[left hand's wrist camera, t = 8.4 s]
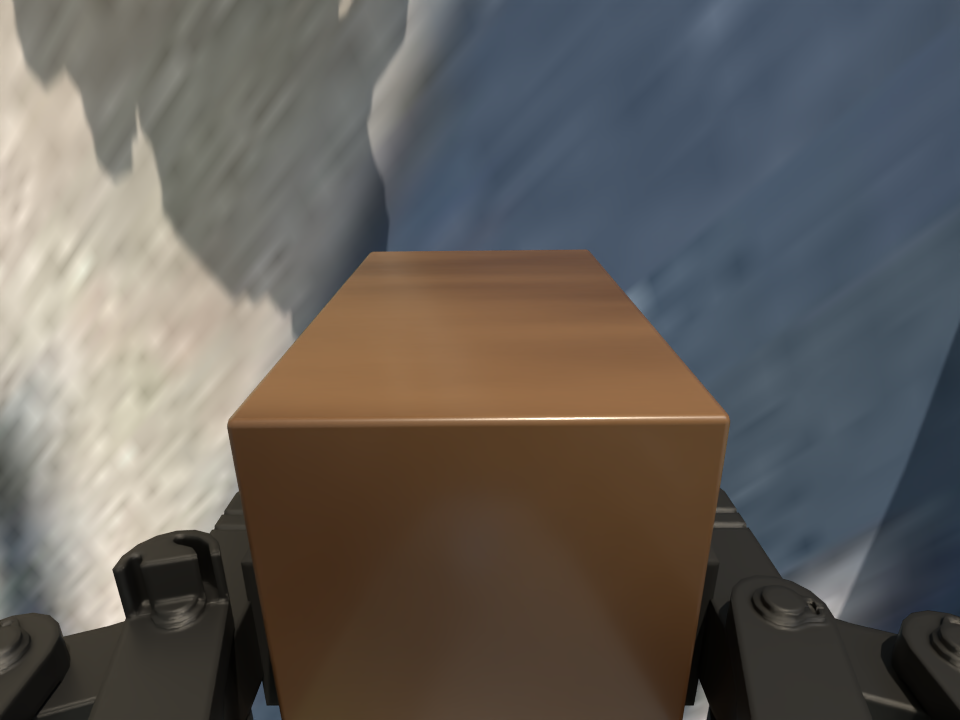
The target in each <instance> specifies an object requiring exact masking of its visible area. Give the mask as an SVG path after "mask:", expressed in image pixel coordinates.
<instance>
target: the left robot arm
mask: <svg viewBox="0 0 960 720" xmlns="http://www.w3.org/2000/svg"><path fill="white" fill-rule="evenodd" d="M112 570H113V573H114V577H115V581H116V584H117V588H118V591H119V595H120V598H121V602H122V605H123V609H124V613H125V616H126V619H125V621H124V622H120V623H117V624H114V625H111V626H107V627H103V628H98V629H94V630H90V631H86V632H81V633H77V634H73V635H69V636H64V637H63V634H62V631H61V628H60V625H59V623H58V622H57V621H56V620H54V619H53V618H52V617H51V616H50V615H44V614H38V613H29V614H22V615H15V616H11V617H8V618H5V619H2V620H0V720H253V715H252V710H251V707H252V704H253V702H254V699H255V697H256V694H257V692H258V689H259V687H260V684H261V681H262V682H263V688H264V693H265V699H266V704H267V705H279V702H278V697H277V692H276V686H275V681H274V675H273V670H272V665H271V659H270V654H269V649H268V643H267V638H266V633H265V627H264V622H263V616H262V611H261V606H260V600H259V595H258V590H257V584H256V579H255V573H254V568H253V563H252V557H251V552H250V547H249V541H248V536H247V531H246V525H245V520H244V514H243V509H242V504H241V498H240V493H239V492H237V493H236V494H235V496H234V497H233V499H232V500H231V502H230V503H229V505H228V506H227V508H226V510H225V511H224V515H222V516H221V517H220V519H219V520H218V522H217V523H216V525H215V529H214V530H212V531H211V532H210V534H209V533H205V532H201V531H197V530H183V531H174V532H170V533H166V534H162V535H158V536H155V537H153V538H151V539H149V540H147V541H145V542H142V543H140V544H138V545H137V546H135V547H134V548H133V549H131V550H130V551H129V552H127V553H126V554H125V555H123V556H122V557H121V559H120V560H119V561H118V563H117V564H116V565H115V567H114V568H113V569H112ZM698 679H699V680H700V682H701V685H702V687H703V690H704V693H705V695H706V698H707V700H708V703H709V710H708V715H707V720H960V617H958V616H955V615H952V614H949V613H942V612H935V611H921V612H915V613H911V614H910V615H909V616H908V617H907V618H905V619H904V620H903V621H902V624H901V627H900V630H899V633H898V634H894V633H890V632H885V631H881V630H877V629H873V628H868V627H864V626H860V625H855V624H851V623H848V622H845V621H842V620H838V619H835V618H834V616H833V615H832V613H831V612H830V610H829V609H828V607H827V605H826V604H825V603H824V602H823V601H822V600H821V599H819V598H818V597H817V596H816V595H815V594H813V593H812V592H811V591H810V590H808V589H806V588H804V587H802V586H800V585H798V584H796V583H794V582H792V581H789V580H786V579H782V577H781V576H780V574H779V573H778V571H777V570H776V568H775V567H774V565H773V564H772V562H771V560H770V559H769V557H768V556H767V554H766V553H765V551H764V550H763V548H762V547H761V545H760V544H759V542H758V541H757V539H756V538H755V536H754V535H753V533H752V532H751V530H750V529H749V528H747V527H746V523H745V521H744V520H743V518H742V517H741V515H740V514H739V513H737V511H736V508H735V506H734V505H733V503H732V502H731V500H730V499H729V497H728V496H727V494H726V493H725V491H723V490H722V489H721V488H720V489H719V495H718V501H717V507H716V514H715V520H714V526H713V532H712V539H711V545H710V551H709V557H708V563H707V570H706V576H705V582H704V588H703V595H702V601H701V607H700V613H699V619H698V626H697V632H696V638H695V644H694V651H693V657H692V663H691V669H690V675H689V682H688V688H687V694H686V700H685V705H694V701H695V696H696V690H697V685H698Z"/></svg>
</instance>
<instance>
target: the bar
mask: <svg viewBox="0 0 960 720" xmlns="http://www.w3.org/2000/svg"><path fill="white" fill-rule="evenodd" d="M729 427H730V418H729V415H728V414H727V413H726V412H725V410H724V409H723V408H722V407H721V406H720V405H719V403H718V402H717V401H716V400H715V399H714V397H713V396H712V395H711V394H710V393H709V392H708V390H707V389H706V388H705V387H704V386H703V385H702V383H701V382H700V381H699V380H698V379H697V377H696V376H695V375H694V374H693V373H692V372H691V370H690V369H689V368H688V367H687V366H686V364H685V363H684V362H683V361H682V360H681V359H680V357H679V356H678V355H677V354H676V353H675V352H674V350H673V349H672V348H671V347H670V346H669V344H668V343H667V342H666V341H665V340H664V339H663V337H662V336H661V335H660V334H659V333H658V332H657V330H656V329H655V328H654V327H653V326H652V324H651V323H650V322H649V321H648V320H647V319H646V317H645V316H644V315H643V314H642V313H641V311H640V310H639V309H638V308H637V307H636V306H635V304H634V303H633V302H632V301H631V300H630V299H629V297H628V296H627V295H626V294H625V293H624V291H623V290H622V289H621V288H620V287H619V286H618V284H617V283H616V282H615V281H614V280H613V279H612V277H611V276H610V275H609V274H608V273H607V271H606V270H605V269H604V268H603V267H602V266H601V264H600V263H599V262H598V261H597V260H596V258H595V257H594V256H593V255H592V254H591V253H590V251H588V250H511V251H413V252H371V253H370V254H369V255H368V256H367V257H366V259H365V260H364V261H363V262H362V263H361V264H360V266H359V267H358V268H357V269H356V270H355V272H354V273H353V274H352V275H351V276H350V277H349V279H348V280H347V281H346V282H345V283H344V284H343V286H342V287H341V288H340V289H339V290H338V292H337V293H336V294H335V295H334V296H333V297H332V299H331V300H330V301H329V302H328V303H327V304H326V306H325V307H324V308H323V309H322V310H321V312H320V313H319V314H318V315H317V316H316V317H315V319H314V320H313V321H312V322H311V323H310V324H309V326H308V327H307V328H306V329H305V330H304V332H303V333H302V334H301V335H300V336H299V337H298V339H297V340H296V341H295V342H294V343H293V345H292V346H291V347H290V348H289V349H288V350H287V352H286V353H285V354H284V355H283V356H282V357H281V359H280V360H279V361H278V362H277V363H276V365H275V366H274V367H273V368H272V369H271V370H270V372H269V373H268V374H267V375H266V376H265V377H264V379H263V380H262V381H261V382H260V383H259V385H258V386H257V387H256V388H255V389H254V390H253V392H252V393H251V394H250V395H249V396H248V397H247V399H246V400H245V401H244V402H243V403H242V405H241V406H240V407H239V408H238V409H237V410H236V412H235V413H234V414H233V415H232V416H231V418H230V419H229V421H228V424H227V429H228V434H229V439H230V445H231V450H232V455H233V461H234V466H235V472H236V477H237V482H238V488H239V493H240V498H241V504H242V509H243V514H244V520H245V525H246V531H247V536H248V541H249V547H250V552H251V557H252V563H253V568H254V573H255V579H256V584H257V590H258V595H259V600H260V606H261V611H262V616H263V622H264V627H265V633H266V638H267V643H268V649H269V654H270V659H271V665H272V670H273V675H274V681H275V686H276V692H277V697H278V702H279V708H280V713H281V718H282V720H682V719H683V713H684V707H685V700H686V694H687V688H688V682H689V675H690V669H691V663H692V657H693V651H694V644H695V638H696V632H697V626H698V619H699V613H700V607H701V601H702V595H703V588H704V582H705V576H706V570H707V563H708V557H709V551H710V545H711V539H712V532H713V526H714V520H715V514H716V507H717V501H718V495H719V489H720V483H721V476H722V470H723V464H724V458H725V451H726V445H727V439H728V433H729Z"/></svg>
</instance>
